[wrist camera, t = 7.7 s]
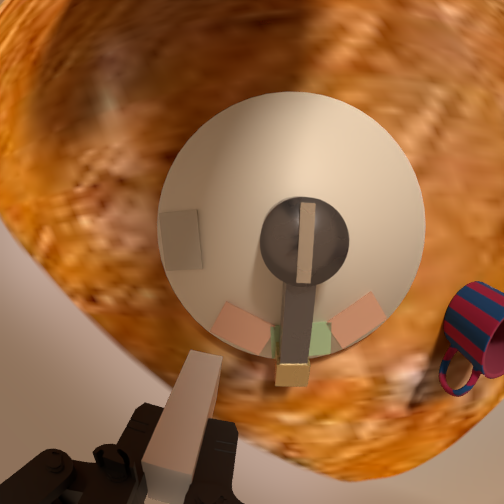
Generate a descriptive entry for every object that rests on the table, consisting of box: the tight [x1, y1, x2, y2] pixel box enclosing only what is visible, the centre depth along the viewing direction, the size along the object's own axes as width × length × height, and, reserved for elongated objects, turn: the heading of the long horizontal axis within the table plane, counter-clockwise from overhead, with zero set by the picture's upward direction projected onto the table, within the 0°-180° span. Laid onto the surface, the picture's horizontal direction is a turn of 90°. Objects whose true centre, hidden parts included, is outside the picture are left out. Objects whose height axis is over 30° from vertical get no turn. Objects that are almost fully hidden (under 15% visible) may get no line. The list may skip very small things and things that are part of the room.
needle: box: [260, 196, 349, 387], centre depth 19 cm, size 12×5×4 cm, turn 178°
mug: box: [439, 281, 504, 397], centre depth 19 cm, size 7×10×7 cm
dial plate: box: [157, 92, 425, 359], centre depth 21 cm, size 20×20×2 cm
